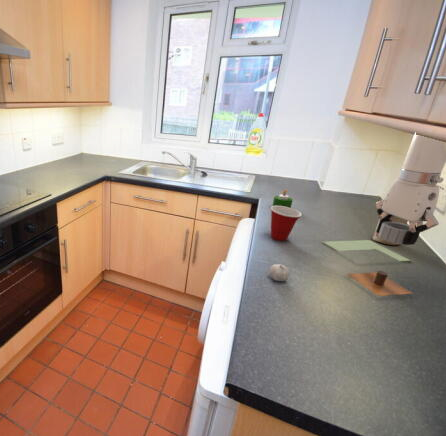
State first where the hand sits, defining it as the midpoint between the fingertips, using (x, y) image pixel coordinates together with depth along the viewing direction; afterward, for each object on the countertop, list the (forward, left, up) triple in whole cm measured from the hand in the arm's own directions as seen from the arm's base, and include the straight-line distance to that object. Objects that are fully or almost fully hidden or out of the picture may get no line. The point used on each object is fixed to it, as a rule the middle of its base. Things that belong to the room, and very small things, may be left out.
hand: (394, 237), depth 85 cm
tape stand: (+2, +2, -15) cm, 15 cm away
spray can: (-29, -25, -15) cm, 41 cm away
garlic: (+30, -4, -15) cm, 34 cm away
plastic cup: (+11, -31, -15) cm, 36 cm away
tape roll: (0, 0, 0) cm, 0 cm away
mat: (-13, -18, -15) cm, 27 cm away
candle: (-11, -64, -15) cm, 67 cm away
